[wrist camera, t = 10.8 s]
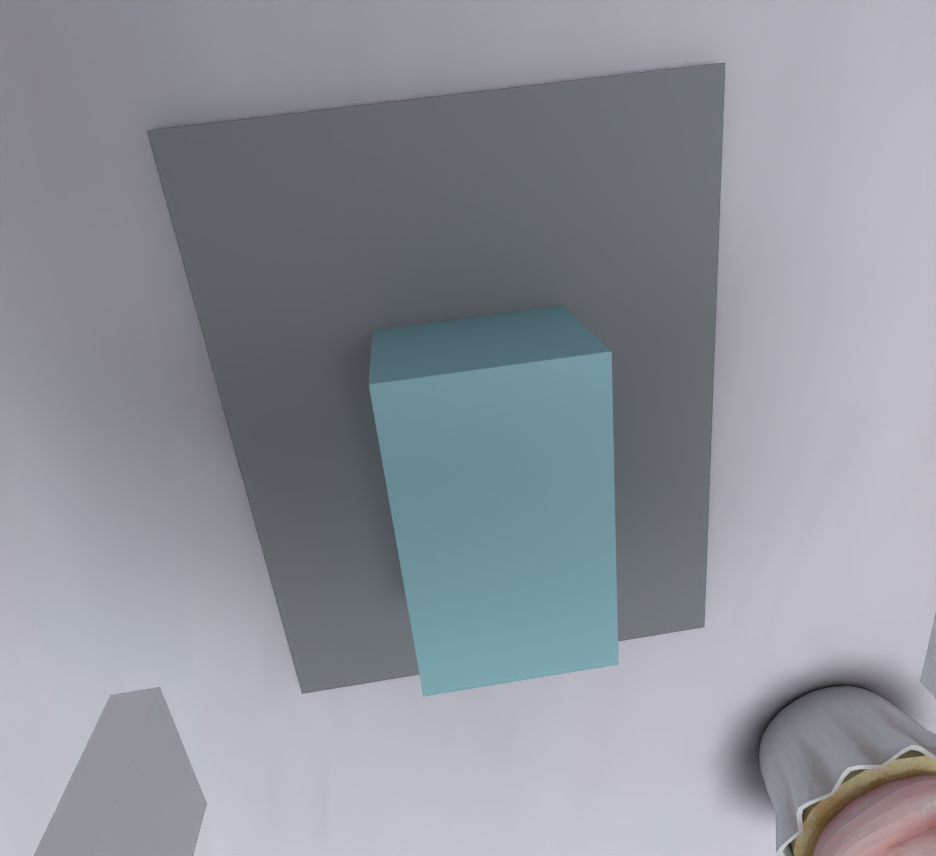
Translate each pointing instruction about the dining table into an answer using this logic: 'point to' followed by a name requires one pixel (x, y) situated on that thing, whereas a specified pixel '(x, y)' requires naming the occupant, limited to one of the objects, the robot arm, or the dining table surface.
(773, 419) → the dining table surface
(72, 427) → the dining table surface
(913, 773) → the cupcake
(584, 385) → the box
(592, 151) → the mat
